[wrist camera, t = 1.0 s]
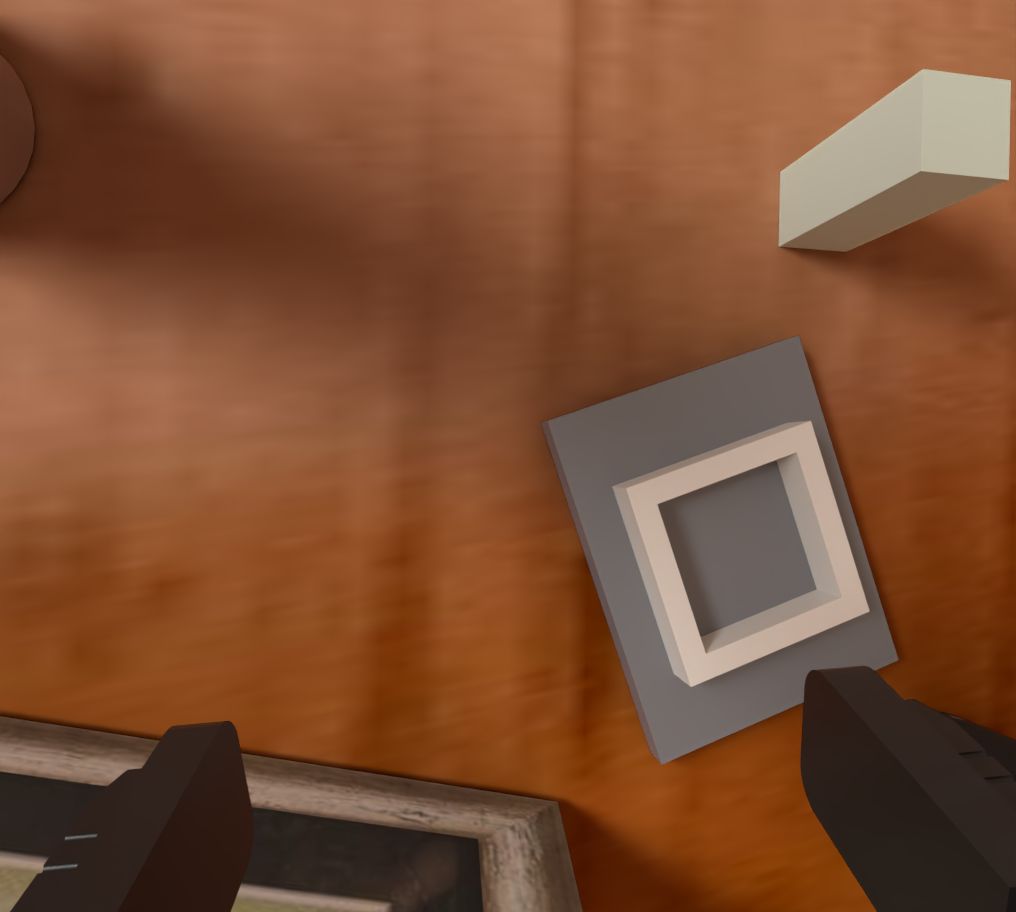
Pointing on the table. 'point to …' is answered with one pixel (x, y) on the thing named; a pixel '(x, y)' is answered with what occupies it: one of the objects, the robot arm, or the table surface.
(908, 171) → the sage block
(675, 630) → the grey base with frame
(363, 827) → the picture frame
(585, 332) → the table surface
